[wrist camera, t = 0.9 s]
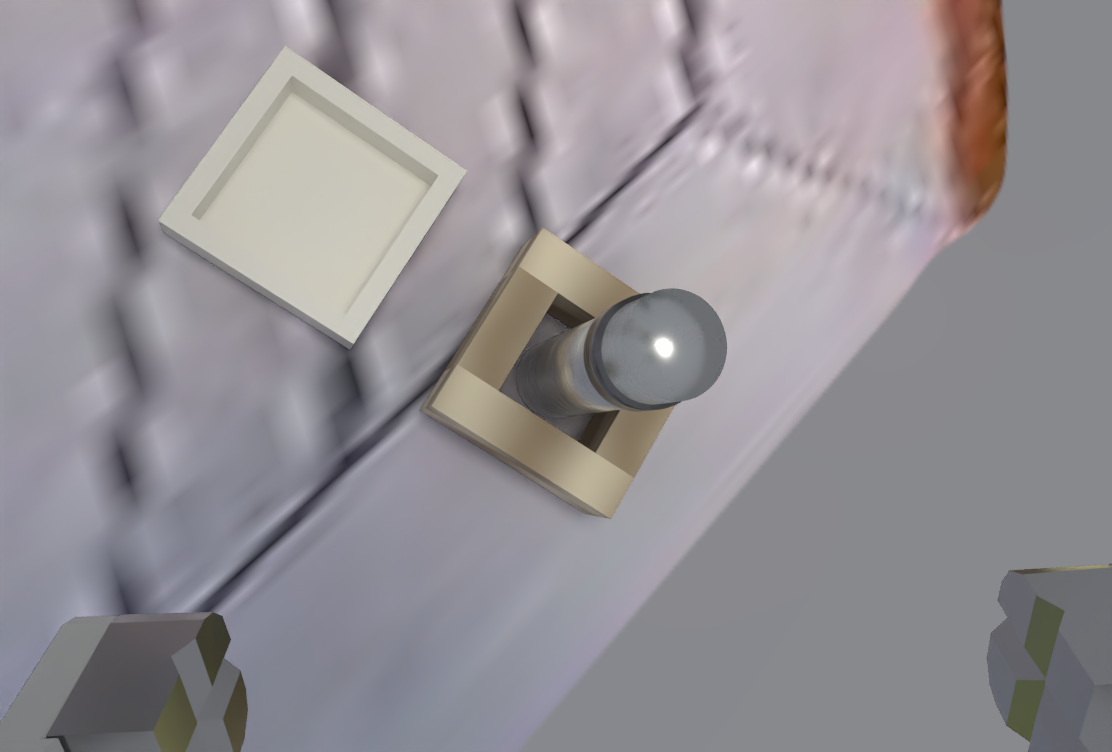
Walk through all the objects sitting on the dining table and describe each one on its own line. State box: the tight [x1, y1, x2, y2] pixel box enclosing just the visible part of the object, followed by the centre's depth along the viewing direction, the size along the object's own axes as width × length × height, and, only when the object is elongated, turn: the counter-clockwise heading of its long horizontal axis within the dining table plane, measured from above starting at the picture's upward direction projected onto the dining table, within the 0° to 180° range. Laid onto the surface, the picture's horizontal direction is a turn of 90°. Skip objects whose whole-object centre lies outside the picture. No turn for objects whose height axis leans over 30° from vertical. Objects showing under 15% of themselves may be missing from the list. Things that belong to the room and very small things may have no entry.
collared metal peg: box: [516, 289, 727, 418], centre depth 41 cm, size 4×4×16 cm
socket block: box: [420, 228, 675, 519], centre depth 47 cm, size 10×10×4 cm
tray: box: [158, 46, 467, 350], centre depth 45 cm, size 10×10×3 cm
